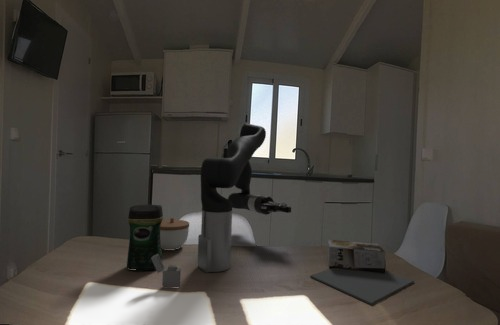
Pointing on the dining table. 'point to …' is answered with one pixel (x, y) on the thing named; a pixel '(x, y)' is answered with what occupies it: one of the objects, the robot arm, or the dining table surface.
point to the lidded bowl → (173, 233)
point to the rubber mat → (363, 283)
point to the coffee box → (356, 256)
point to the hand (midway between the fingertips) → (289, 209)
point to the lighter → (167, 272)
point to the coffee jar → (144, 236)
